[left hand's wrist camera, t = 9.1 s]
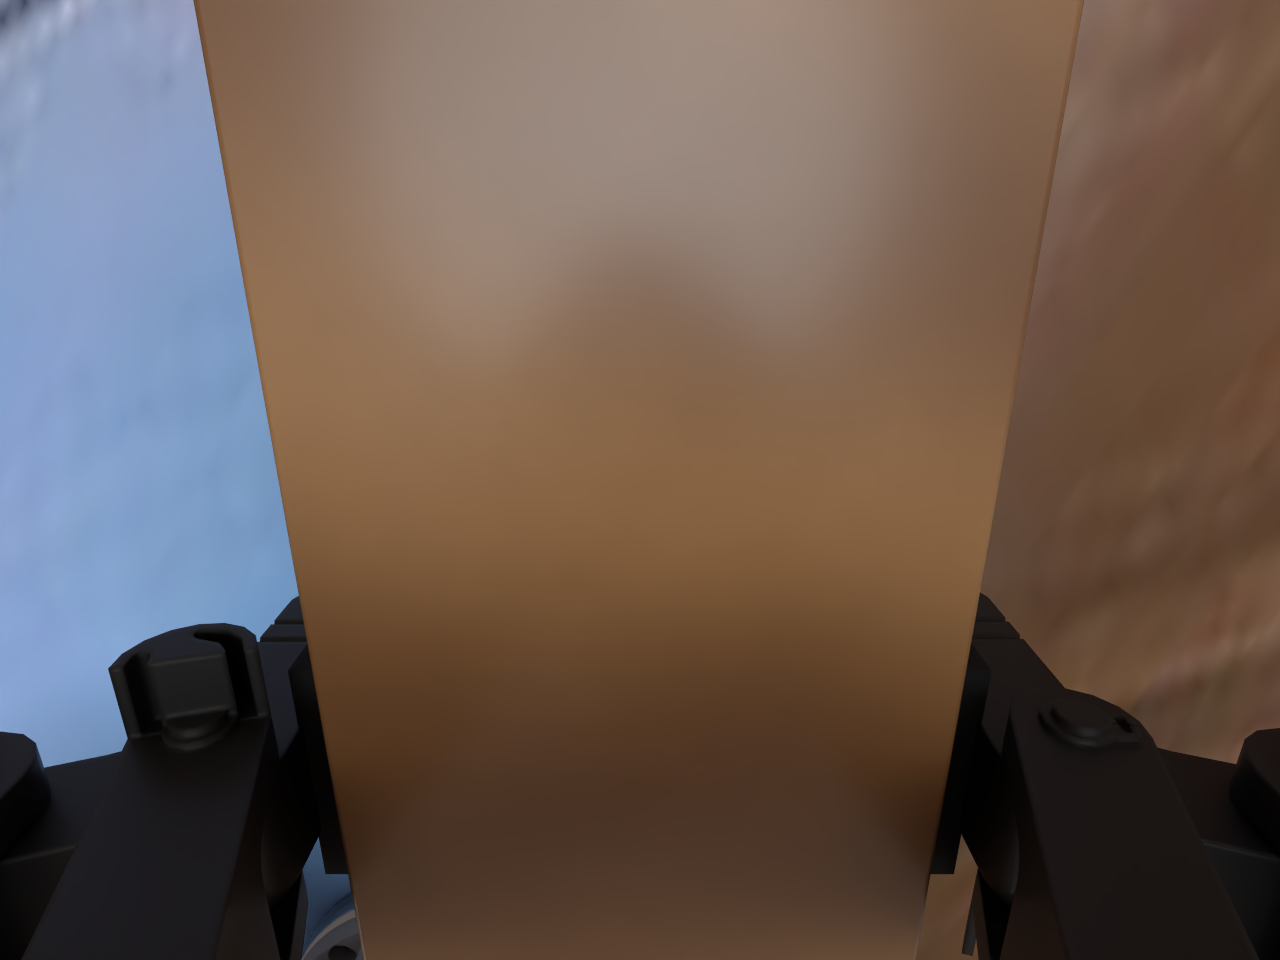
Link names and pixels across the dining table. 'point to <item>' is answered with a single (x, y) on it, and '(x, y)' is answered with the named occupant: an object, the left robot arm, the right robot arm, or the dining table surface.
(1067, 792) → the left robot arm
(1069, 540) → the dining table surface
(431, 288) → the beam
